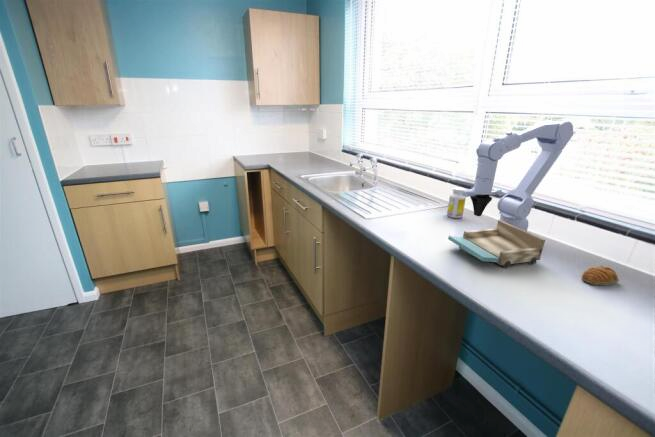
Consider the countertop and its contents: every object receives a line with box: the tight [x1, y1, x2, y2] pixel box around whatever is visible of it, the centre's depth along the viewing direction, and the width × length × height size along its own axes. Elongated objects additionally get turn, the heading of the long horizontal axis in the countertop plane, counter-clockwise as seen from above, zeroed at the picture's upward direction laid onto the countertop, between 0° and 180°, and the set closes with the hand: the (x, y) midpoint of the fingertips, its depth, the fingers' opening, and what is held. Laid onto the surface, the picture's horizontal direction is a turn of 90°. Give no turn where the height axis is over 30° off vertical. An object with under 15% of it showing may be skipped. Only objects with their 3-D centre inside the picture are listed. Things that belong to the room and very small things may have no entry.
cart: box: [462, 219, 546, 269], centre depth 104 cm, size 15×18×8 cm
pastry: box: [581, 265, 620, 287], centre depth 90 cm, size 9×7×4 cm
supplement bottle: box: [446, 186, 467, 219], centre depth 140 cm, size 7×7×13 cm
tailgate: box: [447, 235, 499, 263], centre depth 102 cm, size 2×17×6 cm
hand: (477, 215), depth 111 cm, fingers closed
